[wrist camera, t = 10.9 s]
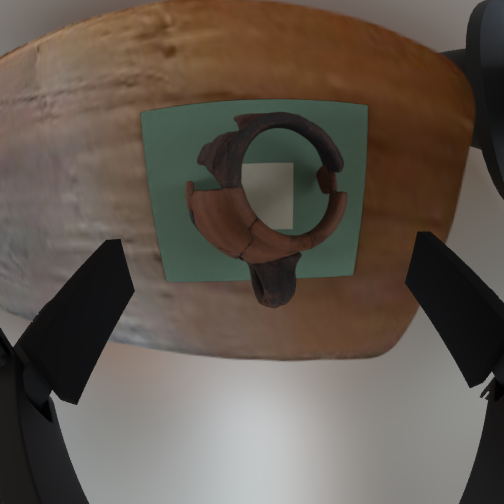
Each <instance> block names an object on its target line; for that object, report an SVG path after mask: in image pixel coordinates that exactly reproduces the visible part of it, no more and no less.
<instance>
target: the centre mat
mask: <svg viewBox="0 0 504 504" xmlns="http://www.w3.org/2000/svg"><path fill="white" fill-rule="evenodd" d="M271 112H288V113H292V114H298V115H300V116H302V117H304V118H306V119H308V120H309V121H311V122H314V123H315V124H316V125H318V126H319V127H321V128H322V129H323V130H324V131H325V132H326V133H327V134H328V135H329V136H330V137H331V139H332V140H333V142H334V143H335V145H336V146H337V147H338V149H339V151H340V153H341V155H342V157H343V160H344V166H343V170H342V171H341V172H340V173H336V172H335V174H336V178H337V189H338V190H337V191H338V192H339V191H343V192H347V193H348V200H347V205H346V209H345V213H344V215H343V217H342V220H341V222H340V223H339V225H338V227H337V229H336V230H335V231H334V232H333V233H332V235H331V236H329V237H328V238H327V239H326V240H325V241H324V242H322V243H320V244H319V245H318V246H315V247H314V248H312V249H309V250H304V251H299V252H300V253H301V254H302V257H301V258H300V260H299V261H298V263H297V266H296V272H295V274H296V278H314V277H333V276H350V275H353V272H354V266H355V260H356V253H357V247H358V240H359V232H360V225H361V216H362V207H363V197H364V186H365V173H366V157H367V133H368V105H361V104H353V103H343V102H332V101H317V100H293V99H260V100H235V101H220V102H209V103H199V104H190V105H183V106H175V107H169V108H162V109H156V110H151V111H145V112H141V124H142V135H143V145H144V154H145V162H146V170H147V177H148V184H149V191H150V198H151V204H152V210H153V216H154V221H155V227H156V232H157V238H158V243H159V248H160V253H161V257H162V262H163V267H164V271H165V276H166V280H167V282H202V281H241V280H251V276H250V271H249V267H248V265H247V263H246V261H242V260H240V259H239V258H238V259H234V258H231V257H229V256H227V255H226V254H224V253H222V252H221V251H219V250H218V249H217V248H215V247H214V246H213V245H212V244H211V243H209V242H208V241H207V240H206V239H205V238H204V236H203V235H202V234H201V233H200V232H199V231H198V230H197V228H196V227H195V226H194V224H193V223H192V221H191V218H190V216H189V211H188V209H187V204H186V197H185V187H186V182H187V181H192V182H193V183H194V191H195V190H211V189H219V188H221V185H220V184H219V182H218V181H217V180H216V179H215V177H214V176H213V175H212V174H211V173H210V172H209V171H208V170H207V168H206V167H205V166H202V165H199V164H198V163H197V158H198V155H199V153H200V151H201V148H202V147H203V145H205V144H207V143H210V142H212V141H213V140H214V139H215V138H216V137H217V136H219V135H221V134H224V133H226V132H234V131H238V130H239V127H238V125H237V122H235V121H234V119H233V118H234V116H238V115H242V114H251V113H271ZM321 166H322V162H321V159H320V157H319V155H318V152H317V150H316V148H315V147H314V146H313V145H312V144H311V143H310V142H309V141H308V140H307V139H306V138H304V137H303V136H301V135H300V134H298V133H296V132H294V131H291V130H288V129H283V128H274V129H269V130H266V131H264V132H262V133H260V134H258V136H256V137H255V139H254V140H253V141H252V142H251V143H250V145H249V147H248V149H247V151H246V153H245V155H244V158H243V163H242V179H241V183H242V185H243V188H244V191H245V194H246V197H247V200H248V202H249V204H250V206H251V208H252V209H253V211H254V212H255V214H256V215H257V217H258V218H259V219H261V221H262V222H263V223H264V224H266V225H267V226H268V227H269V228H271V229H273V230H275V231H277V232H279V233H282V234H285V235H302V234H303V233H306V232H308V231H310V230H312V229H313V228H314V227H315V226H316V225H317V224H318V223H319V222H320V221H321V219H322V218H323V216H324V214H325V212H326V209H327V206H328V201H329V194H323V193H322V191H321V189H320V187H319V184H318V181H317V178H316V173H317V171H318V170H319V168H320V167H321Z"/></svg>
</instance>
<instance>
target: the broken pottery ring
mask: <svg viewBox="0 0 504 504" xmlns="http://www.w3.org/2000/svg"><path fill="white" fill-rule="evenodd" d="M233 119H234V121H235V122H237V125H238V127H239V130H238V131H234V132H226V133H224V134H221V135H219V136H217V137H216V138H215V139H214V140H213V141H212V142H210V143H207V144H205V145H203V147H202V148H201V151H200V153H199V155H198V158H197V163H198V164H199V165H202V166H205V167H206V168H207V170H208V171H209V172H210V173H211V174H212V175H213V176H214V177H215V179H216V180H217V181H218V182H219V184H220V185H221V188H219V189H211V190H195V191H194V183H193V182H192V181H187V182H186V187H185V197H186V204H187V209H188V211H189V216H190V218H191V221H192V223H193V224H194V226H195V227H196V228H197V230H198V231H199V232H200V233H201V234H202V235H203V236H204V238H205V239H206V240H207V241H208V242H209V243H211V244H212V245H213V246H214V247H215V248H217V249H218V250H219V251H221V252H222V253H224V254H226V255H227V256H229V257H231V258H234V259H238V258H239V259H240V260H242V261H246V263H247V265H248V267H249V271H250V276H251V281H252V285H253V289H254V292H255V295H256V297H257V299H258V302H259V303H260V304H262V305H264V306H266V307H270V308H277V307H279V306H281V305H285V304H286V303H288V302H289V300H290V299H291V298H292V297H293V295H294V293H295V288H296V274H295V272H296V266H297V263H298V261H299V260H300V258H301V257H302V254H301V253H300V252H299V251H304V250H309V249H312V248H314V247H315V246H318V245H319V244H320V243H322V242H324V241H325V240H326V239H327V238H328V237H329V236H331V235H332V233H333V232H334V231H335V230H336V229H337V227H338V225H339V223H340V222H341V220H342V217H343V215H344V213H345V209H346V205H347V200H348V193H347V192H343V191H339V192H338V191H337V190H338V189H337V178H336V174H335V172H336V173H340V172H341V171H342V170H343V166H344V160H343V157H342V155H341V153H340V151H339V149H338V147H337V146H336V145H335V143H334V142H333V140H332V139H331V137H330V136H329V135H328V134H327V133H326V132H325V131H324V130H323V129H322V128H321V127H319V126H318V125H316V124H315V123H314V122H311V121H309V120H308V119H306V118H304V117H302V116H300V115H298V114H292V113H288V112H271V113H251V114H242V115H238V116H234V118H233ZM274 128H283V129H288V130H291V131H294V132H296V133H298V134H300V135H301V136H303V137H304V138H306V139H307V140H308V141H309V142H310V143H311V144H312V145H313V146H314V147H315V148H316V150H317V152H318V155H319V157H320V159H321V162H322V166H321V167H320V168H319V170H318V171H317V173H316V178H317V181H318V184H319V187H320V189H321V191H322V193H323V194H329V201H328V206H327V209H326V212H325V214H324V216H323V218H322V219H321V221H320V222H319V223H318V224H317V225H316V226H315V227H314V228H313V229H312V230H310V231H308V232H306V233H303V234H302V235H285V234H282V233H279V232H277V231H275V230H273V229H271V228H269V227H268V226H267V225H266V224H264V223H263V222H262V221H261V219H259V218H258V217H257V215H256V214H255V212H254V211H253V209H252V208H251V206H250V204H249V202H248V200H247V197H246V194H245V191H244V188H243V185H242V183H241V179H242V163H243V158H244V155H245V153H246V151H247V149H248V147H249V145H250V143H251V142H252V141H253V140H254V139H255V137H256V136H258V134H260V133H262V132H264V131H266V130H269V129H274Z"/></svg>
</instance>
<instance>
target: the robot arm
mask: <svg viewBox="0 0 504 504" xmlns="http://www.w3.org/2000/svg"><path fill="white" fill-rule="evenodd" d="M405 284H406V285H407V287H408V288H409V289H410V291H411V292H412V294H413V295H414V297H415V298H416V299H417V301H418V302H419V304H420V305H421V307H422V308H423V310H424V311H425V313H426V314H427V316H428V317H429V319H430V320H431V322H432V324H433V325H434V327H435V328H436V330H437V331H438V332H439V334H440V336H441V338H442V340H443V341H444V343H445V344H446V346H447V348H448V350H449V351H450V353H451V355H452V356H453V358H454V360H455V361H456V363H457V365H458V367H459V369H460V371H461V372H462V374H463V376H464V378H465V380H466V382H467V384H468V386H469V388H472V387H474V386H477V385H479V384H481V383H483V382H484V381H485V380H486V378H487V377H488V376H489V374H490V373H491V372H493V374H494V376H495V377H494V378H493V379H492V380H491V382H490V383H489V385H488V386H487V387H486V388H485V389H484V391H483V392H482V393H481V396H480V397H481V398H482V397H483V396H484V395H485V394H486V392H487V391H489V394H488V395H487V397H486V398H485V399H486V400H488V404H487V410H486V416H485V422H484V426H483V431H482V436H481V439H480V443H479V447H478V451H477V455H476V458H475V462H474V465H473V468H472V471H471V474H470V477H469V480H468V483H467V485H466V488H465V490H464V493H463V496H462V498H461V500H460V503H459V504H504V303H503V301H502V300H501V299H499V297H498V296H497V295H496V294H495V293H494V292H493V290H492V289H490V288H489V287H488V286H487V285H486V284H485V283H484V282H483V281H482V280H481V279H480V277H478V275H476V273H475V272H474V271H472V269H471V268H470V267H469V266H467V265H466V264H465V263H464V262H463V261H462V260H461V259H460V258H459V257H458V256H457V255H456V254H455V253H454V252H453V251H452V250H451V249H449V248H448V247H447V246H446V245H445V244H444V243H443V242H442V241H441V240H439V239H438V238H437V237H436V236H435V235H434V234H432V233H431V232H420V231H418V232H417V236H416V241H415V245H414V250H413V254H412V258H411V262H410V266H409V270H408V274H407V277H406V281H405ZM134 292H135V290H134V286H133V283H132V280H131V276H130V273H129V269H128V266H127V262H126V259H125V255H124V251H123V247H122V243H121V239H112V240H106V241H105V242H104V243H103V244H102V245H101V246H100V247H99V248H98V249H97V250H96V251H95V252H94V253H93V254H92V255H91V256H90V257H89V258H88V259H87V260H86V261H85V263H84V264H83V265H82V266H81V267H80V268H79V269H78V270H77V271H76V272H75V274H74V275H73V276H72V277H71V278H70V279H69V280H68V281H67V283H66V284H65V285H64V286H63V287H62V288H61V290H60V291H59V292H58V293H57V294H56V295H55V297H54V298H53V299H52V300H51V301H49V302H48V303H47V304H45V306H44V307H43V308H42V309H41V311H40V312H39V315H37V316H36V317H35V318H34V320H33V322H31V324H30V325H29V326H28V327H27V329H26V330H25V332H24V333H23V334H22V336H21V337H20V338H19V340H18V341H17V343H16V344H15V346H14V347H12V346H11V344H10V342H9V341H8V339H7V338H6V336H5V334H4V333H3V331H2V329H1V328H0V504H89V502H88V500H87V498H86V496H85V494H84V492H83V490H82V488H81V485H80V483H79V481H78V478H77V476H76V473H75V471H74V468H73V465H72V463H71V460H70V458H69V454H68V452H67V449H66V446H65V443H64V439H63V436H62V433H61V429H60V426H59V422H58V418H57V414H56V410H55V406H54V403H53V401H52V398H51V397H50V396H49V395H50V393H51V391H52V390H53V391H54V392H55V394H56V395H57V396H58V397H59V398H60V399H61V400H63V401H66V402H69V403H72V404H75V405H77V404H78V401H79V399H80V397H81V394H82V392H83V390H84V388H85V386H86V384H87V381H88V379H89V377H90V375H91V373H92V371H93V369H94V366H95V365H96V363H97V360H98V358H99V356H100V354H101V352H102V350H103V348H104V347H105V345H106V343H107V341H108V339H109V337H110V335H111V333H112V331H113V329H114V327H115V326H116V324H117V322H118V320H119V318H120V316H121V315H122V313H123V311H124V309H125V307H126V306H127V304H128V302H129V300H130V299H131V297H132V295H133V293H134Z"/></svg>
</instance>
